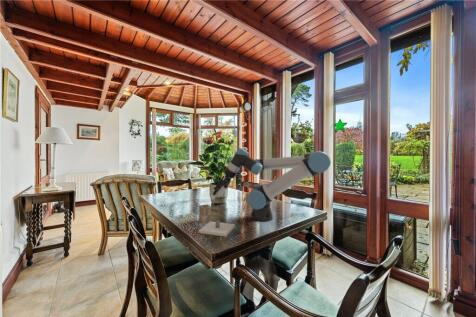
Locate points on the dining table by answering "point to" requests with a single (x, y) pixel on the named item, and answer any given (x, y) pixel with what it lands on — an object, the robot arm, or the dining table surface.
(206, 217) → the birch sleeve
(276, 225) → the dining table surface
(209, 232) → the base plate
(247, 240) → the dining table surface
